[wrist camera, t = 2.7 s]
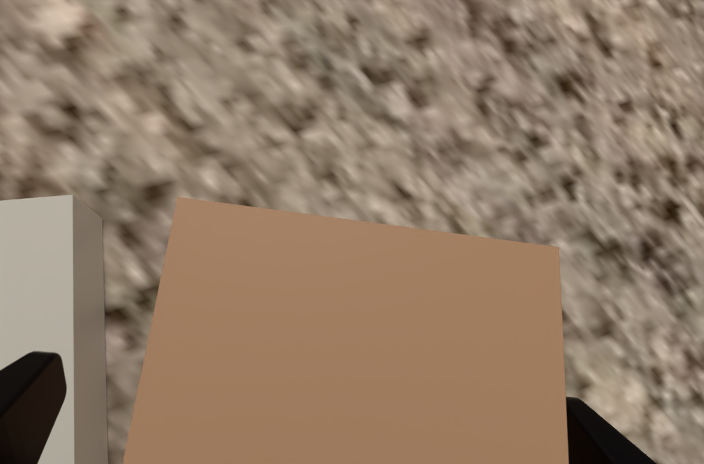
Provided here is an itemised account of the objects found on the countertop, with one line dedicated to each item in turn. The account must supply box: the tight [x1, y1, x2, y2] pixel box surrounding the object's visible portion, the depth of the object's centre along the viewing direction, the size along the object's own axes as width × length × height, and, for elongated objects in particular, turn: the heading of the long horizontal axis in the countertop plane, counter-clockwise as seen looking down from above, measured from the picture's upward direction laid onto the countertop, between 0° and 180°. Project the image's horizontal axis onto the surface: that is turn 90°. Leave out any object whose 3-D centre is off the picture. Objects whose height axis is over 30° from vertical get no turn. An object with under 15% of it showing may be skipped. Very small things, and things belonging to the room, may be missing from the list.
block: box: [123, 197, 569, 464], centre depth 10 cm, size 4×4×12 cm
